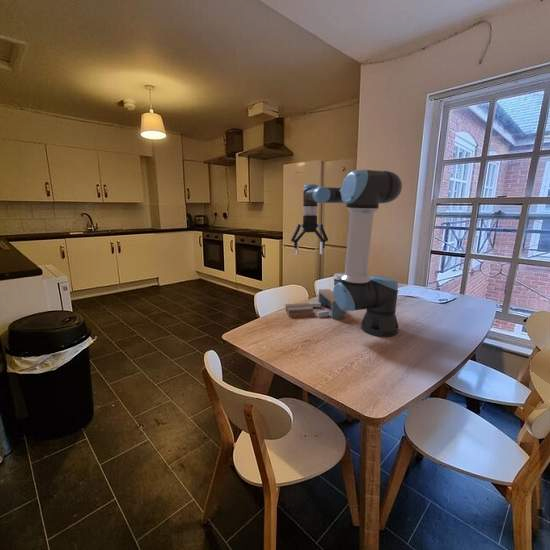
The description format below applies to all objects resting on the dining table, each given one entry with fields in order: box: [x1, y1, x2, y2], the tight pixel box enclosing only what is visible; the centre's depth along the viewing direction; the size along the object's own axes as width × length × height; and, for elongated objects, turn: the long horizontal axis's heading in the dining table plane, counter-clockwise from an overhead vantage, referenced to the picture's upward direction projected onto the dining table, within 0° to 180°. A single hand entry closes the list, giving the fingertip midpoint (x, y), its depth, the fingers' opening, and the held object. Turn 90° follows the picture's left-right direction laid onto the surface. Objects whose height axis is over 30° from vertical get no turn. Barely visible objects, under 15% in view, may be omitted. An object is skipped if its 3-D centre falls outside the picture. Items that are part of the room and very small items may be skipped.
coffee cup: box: [333, 272, 345, 287], centre depth 165 cm, size 10×10×15 cm
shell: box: [284, 302, 314, 318], centre depth 146 cm, size 9×12×4 cm
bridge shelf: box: [308, 288, 345, 319], centre depth 148 cm, size 20×12×9 cm, turn 11°
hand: (309, 254), depth 160 cm, fingers open, 13 cm apart
